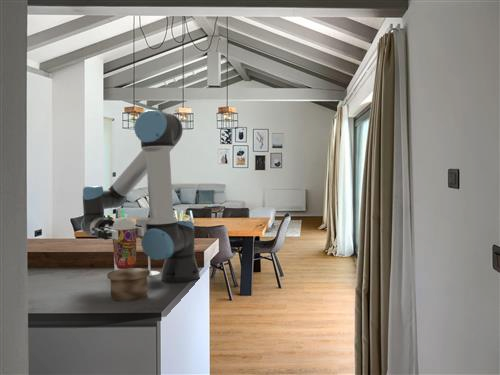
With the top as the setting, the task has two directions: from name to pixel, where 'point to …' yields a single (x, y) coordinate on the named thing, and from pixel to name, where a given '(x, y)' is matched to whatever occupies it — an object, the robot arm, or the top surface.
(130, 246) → the smoothie
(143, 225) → the wineglass
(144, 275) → the tan muffin-shaped cylinder
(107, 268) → the top surface
